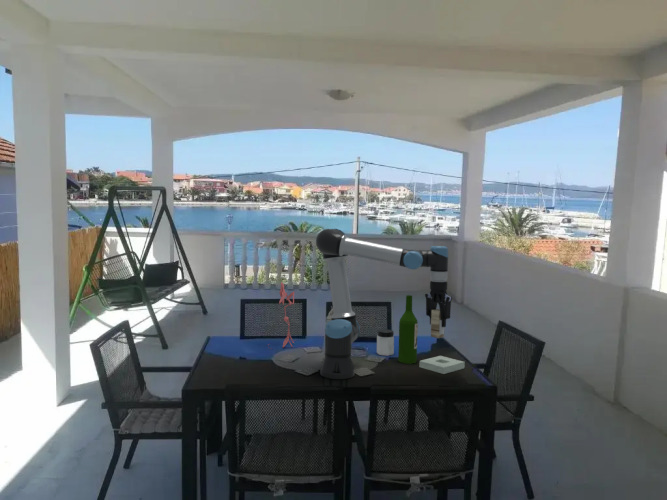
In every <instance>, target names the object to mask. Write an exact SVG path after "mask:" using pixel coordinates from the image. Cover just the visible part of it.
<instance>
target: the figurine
mask: <svg viewBox="0 0 667 500" xmlns="http://www.w3.org/2000/svg"><path fill="white" fill-rule="evenodd" d="M279 297H280V299H279V302H278V305H281V304H282V305H283V306H284V304H285V298H286V301H288V304H287V305H285V306H284V317H283V321H284V322H286V324H287V325H288V326H291V325H290V324H291V323H290V321H289V319H290V318H289V317H288V316H286V315H287V312H286V308H287V307H288V306H290V307H291V306H292V305H295V291H292V292H291V293H289V294H288V292H286V290H285V283H283V282H282V281H281V282H280V290H279ZM291 298H292V301H291V300H290V299H291ZM287 328H288V329H287V335H286V337H285V339H284V340H283V344H282V348H285V347H286V345H287V344H288V343H289V345H290V346H291V348H292V347H293V343H294V344H295V342H294V341H296V340H293V338H292V336H291V333H290V327H287ZM289 339H290V340H289ZM291 342H292V343H291ZM269 345H270V343H269V344H267V347H268V349H271V350H272V348H270V347H269Z"/></svg>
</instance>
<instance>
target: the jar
mask: <svg viewBox="0 0 667 500" xmlns="http://www.w3.org/2000/svg"><path fill="white" fill-rule="evenodd" d="M394 334H395V333H394V331H393V330H392V329H381V328H380V329H378V330H377V335H376V354H377V355H379V356H387V357H388V356H393V355H394V354H395V353H394V352H395V351H394V350H395V336H394Z"/></svg>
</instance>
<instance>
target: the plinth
mask: <svg viewBox="0 0 667 500" xmlns="http://www.w3.org/2000/svg"><path fill="white" fill-rule="evenodd" d="M418 364H419V365H418V366H419V368H421V369H424V370H428V371H432V372H434V373H439V374H442V375H445V374H449V373H452V372H453V373H454V372H457V371H459V370H463V369H465V368H466V367H465V366H466V363H465V361H462V360H458V359H454V358H451V357H447V356H445V355H444V356H443V355H438V356H434V357H430V358H426V359H422V360H419V363H418Z"/></svg>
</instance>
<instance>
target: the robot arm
mask: <svg viewBox="0 0 667 500" xmlns="http://www.w3.org/2000/svg"><path fill="white" fill-rule="evenodd" d="M315 244H316V245H315V246H316V248H317V250H318V251H319V252H321V253H322V259H323V261H325V262H326V264H327V269H328V270H327V272H328V273H327V274H328V278H329V286H330V287H329V288H330V294H331V303H332V308H333V309H332V311H333V313H332V315H331V320H328V321H327V322H326V323H325V328H324V339H325V340H324V358H323V362H322V365H321V367H320V372H319V373H320V376H322V377H323V378H326V379H330V380H331V379H332V380H345V379H351V378H354V377H355V375H356V373H355V367H354V363H353V360H352V343H354V342H355V341H356V340H357V339H358V338H359V335H360V330H361V328H360V324H359V322H358V321H357V315H356V312H354V310H353V308H352V307H353V306H352V301H351V294H350V287H349V279H348V272H347V271H348V270H347V264H346V263H347V262H346V259H348V256H349V257H350V256H351V257H355V258H360V259H364V260H370V261H374V262H380V263H382V264H383V263H384V264H390V265H393V266H399V267H402V268H403V267H404V268H406V269H408V270H417V269H419V268H430V271H429V272H430V273H429V279H430V281H429V289H430V291H429V292H428V293H425V294H424V297H425V316H427V317H429V325H430V326H431V314H432V310H434V309H437V307H438V306H439V309H440V315H441V319H440V321H439V334H440V335H441V334H444V335H445V328H446V326H447V320H449V319H451V307H452V300H453V297H452V296H449V295H448V293H447V290H448V275H449V274H448V272H449V271H448V268H449V248H448V247H447V246H443V245H432V246H431V247H430V249H428V250H425V249H406V248H401V247H397V246H391V245H387V244H382V243H377V242H372V241H366V240H361V239H357V238H351V237H348V236H347V234H346V233H345V232H344V231H342V230H341V229H339V228H325V229H322V230H321V231H320V232H319V233H318V234H317V235H316V238H315ZM437 305H438V306H437Z"/></svg>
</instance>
